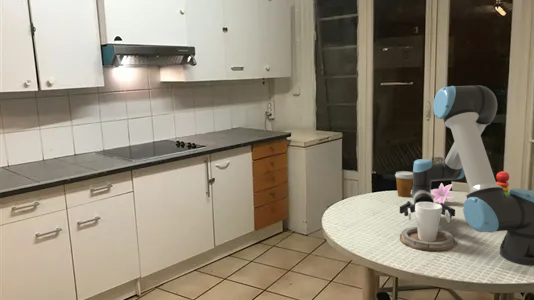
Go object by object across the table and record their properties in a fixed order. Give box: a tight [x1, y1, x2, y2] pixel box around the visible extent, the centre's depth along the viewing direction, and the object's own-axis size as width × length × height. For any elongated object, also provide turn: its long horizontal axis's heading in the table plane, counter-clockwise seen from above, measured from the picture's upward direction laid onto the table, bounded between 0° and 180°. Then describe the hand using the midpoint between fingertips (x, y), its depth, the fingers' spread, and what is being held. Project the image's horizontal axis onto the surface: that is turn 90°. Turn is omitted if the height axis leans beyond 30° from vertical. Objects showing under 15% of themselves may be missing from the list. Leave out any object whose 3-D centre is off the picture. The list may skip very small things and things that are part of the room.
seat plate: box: [399, 226, 457, 253], centre depth 165 cm, size 20×20×2 cm
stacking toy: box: [496, 170, 510, 195], centre depth 195 cm, size 8×8×19 cm
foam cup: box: [415, 202, 442, 242], centre depth 164 cm, size 10×9×13 cm
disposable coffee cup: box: [394, 170, 413, 198], centre depth 226 cm, size 10×10×12 cm
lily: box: [431, 182, 454, 205], centre depth 212 cm, size 12×12×10 cm
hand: (429, 217), depth 160 cm, fingers open, 13 cm apart
